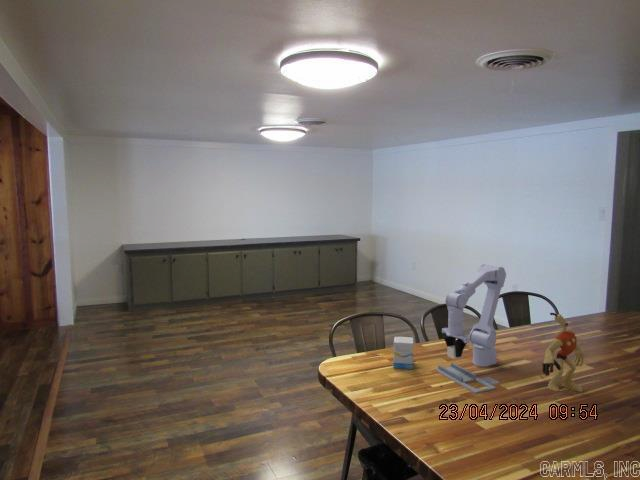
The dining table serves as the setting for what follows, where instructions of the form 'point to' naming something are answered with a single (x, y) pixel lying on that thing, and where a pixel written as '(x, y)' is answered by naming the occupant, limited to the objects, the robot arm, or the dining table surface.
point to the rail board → (463, 377)
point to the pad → (489, 380)
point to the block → (452, 352)
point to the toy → (563, 357)
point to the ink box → (403, 353)
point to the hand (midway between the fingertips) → (454, 354)
